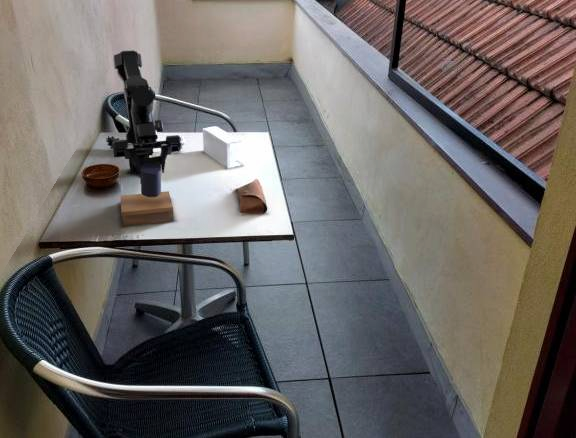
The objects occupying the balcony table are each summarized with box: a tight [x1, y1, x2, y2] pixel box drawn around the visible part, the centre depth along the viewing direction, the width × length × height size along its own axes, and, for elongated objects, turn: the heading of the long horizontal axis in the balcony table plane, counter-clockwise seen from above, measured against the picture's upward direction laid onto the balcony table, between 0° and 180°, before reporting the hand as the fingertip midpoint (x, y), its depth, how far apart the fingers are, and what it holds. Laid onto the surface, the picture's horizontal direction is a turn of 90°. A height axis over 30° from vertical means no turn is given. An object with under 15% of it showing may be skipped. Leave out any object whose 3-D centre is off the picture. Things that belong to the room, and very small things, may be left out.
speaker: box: [139, 155, 162, 197], centre depth 154 cm, size 8×6×10 cm
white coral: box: [172, 135, 186, 154], centre depth 203 cm, size 7×8×6 cm
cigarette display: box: [202, 125, 242, 170], centre depth 198 cm, size 20×6×9 cm, turn 34°
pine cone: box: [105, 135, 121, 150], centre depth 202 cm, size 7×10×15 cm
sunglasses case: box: [235, 178, 268, 215], centre depth 169 cm, size 18×7×7 cm
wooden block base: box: [119, 190, 175, 227], centre depth 160 cm, size 15×14×4 cm
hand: (152, 173), depth 152 cm, fingers closed on speaker, 6 cm apart
